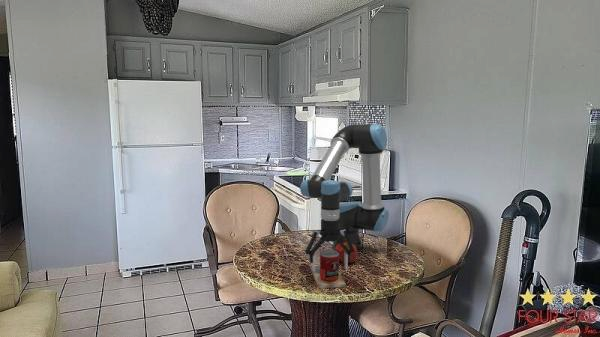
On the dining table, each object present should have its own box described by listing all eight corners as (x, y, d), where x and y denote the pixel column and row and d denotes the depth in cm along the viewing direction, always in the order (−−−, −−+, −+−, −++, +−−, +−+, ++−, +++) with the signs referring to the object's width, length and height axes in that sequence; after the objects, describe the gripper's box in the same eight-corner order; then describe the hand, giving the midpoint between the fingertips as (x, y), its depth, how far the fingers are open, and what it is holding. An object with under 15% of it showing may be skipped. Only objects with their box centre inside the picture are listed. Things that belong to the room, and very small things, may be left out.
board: (333, 267, 192) (333, 264, 192) (345, 286, 170) (345, 283, 170) (309, 268, 190) (309, 265, 190) (318, 288, 169) (318, 284, 169)
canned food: (326, 283, 170) (326, 256, 168) (316, 277, 177) (316, 251, 175) (342, 280, 173) (342, 254, 172) (331, 273, 180) (332, 248, 179)
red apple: (353, 267, 192) (354, 246, 191) (331, 265, 196) (332, 244, 194) (359, 260, 202) (359, 239, 201) (338, 257, 206) (338, 237, 205)
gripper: (301, 222, 166) (301, 274, 169) (362, 220, 170) (361, 271, 172) (298, 217, 174) (298, 267, 176) (357, 215, 177) (356, 264, 180)
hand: (329, 269), depth 174 cm, fingers open, 13 cm apart
